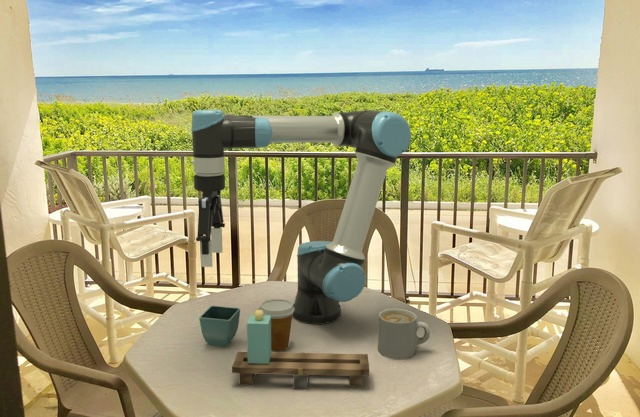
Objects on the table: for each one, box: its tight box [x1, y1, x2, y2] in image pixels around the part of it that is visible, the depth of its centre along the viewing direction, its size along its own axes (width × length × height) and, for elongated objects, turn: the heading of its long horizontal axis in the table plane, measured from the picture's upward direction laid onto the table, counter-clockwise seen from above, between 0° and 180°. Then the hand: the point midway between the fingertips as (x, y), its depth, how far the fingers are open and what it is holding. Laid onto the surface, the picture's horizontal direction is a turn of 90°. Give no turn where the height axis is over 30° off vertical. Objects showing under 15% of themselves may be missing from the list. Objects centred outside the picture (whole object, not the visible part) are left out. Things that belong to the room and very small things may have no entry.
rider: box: [246, 309, 272, 364], centre depth 136 cm, size 5×5×13 cm
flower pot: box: [198, 305, 241, 348], centre depth 156 cm, size 9×9×9 cm
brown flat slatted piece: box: [231, 351, 370, 390], centre depth 137 cm, size 32×9×5 cm, turn 88°
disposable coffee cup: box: [258, 298, 294, 352], centre depth 154 cm, size 10×10×12 cm
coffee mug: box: [377, 308, 431, 360], centre depth 152 cm, size 13×10×10 cm
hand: (212, 259), depth 145 cm, fingers open, 11 cm apart
